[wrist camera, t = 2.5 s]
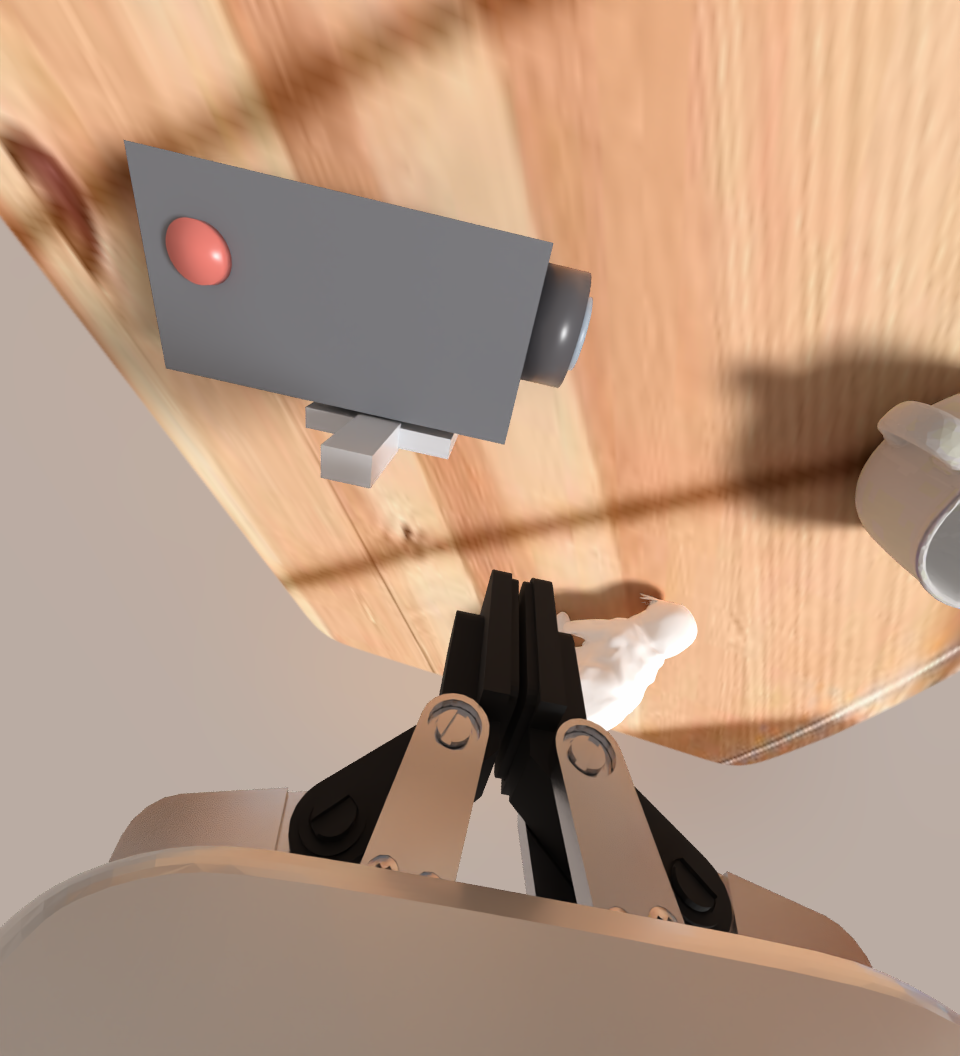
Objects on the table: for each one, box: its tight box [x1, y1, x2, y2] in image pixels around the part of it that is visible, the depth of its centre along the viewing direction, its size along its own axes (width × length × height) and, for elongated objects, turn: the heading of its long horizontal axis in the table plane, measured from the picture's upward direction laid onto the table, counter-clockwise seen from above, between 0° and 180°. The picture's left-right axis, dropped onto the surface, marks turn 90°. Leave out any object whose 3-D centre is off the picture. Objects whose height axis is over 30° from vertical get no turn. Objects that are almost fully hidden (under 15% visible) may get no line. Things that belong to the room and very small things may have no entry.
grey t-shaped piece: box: [305, 402, 458, 488], centre depth 21 cm, size 7×1×11 cm, turn 79°
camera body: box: [124, 140, 593, 444], centre depth 20 cm, size 18×8×8 cm, turn 79°
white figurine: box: [556, 594, 697, 731], centre depth 30 cm, size 6×8×12 cm
